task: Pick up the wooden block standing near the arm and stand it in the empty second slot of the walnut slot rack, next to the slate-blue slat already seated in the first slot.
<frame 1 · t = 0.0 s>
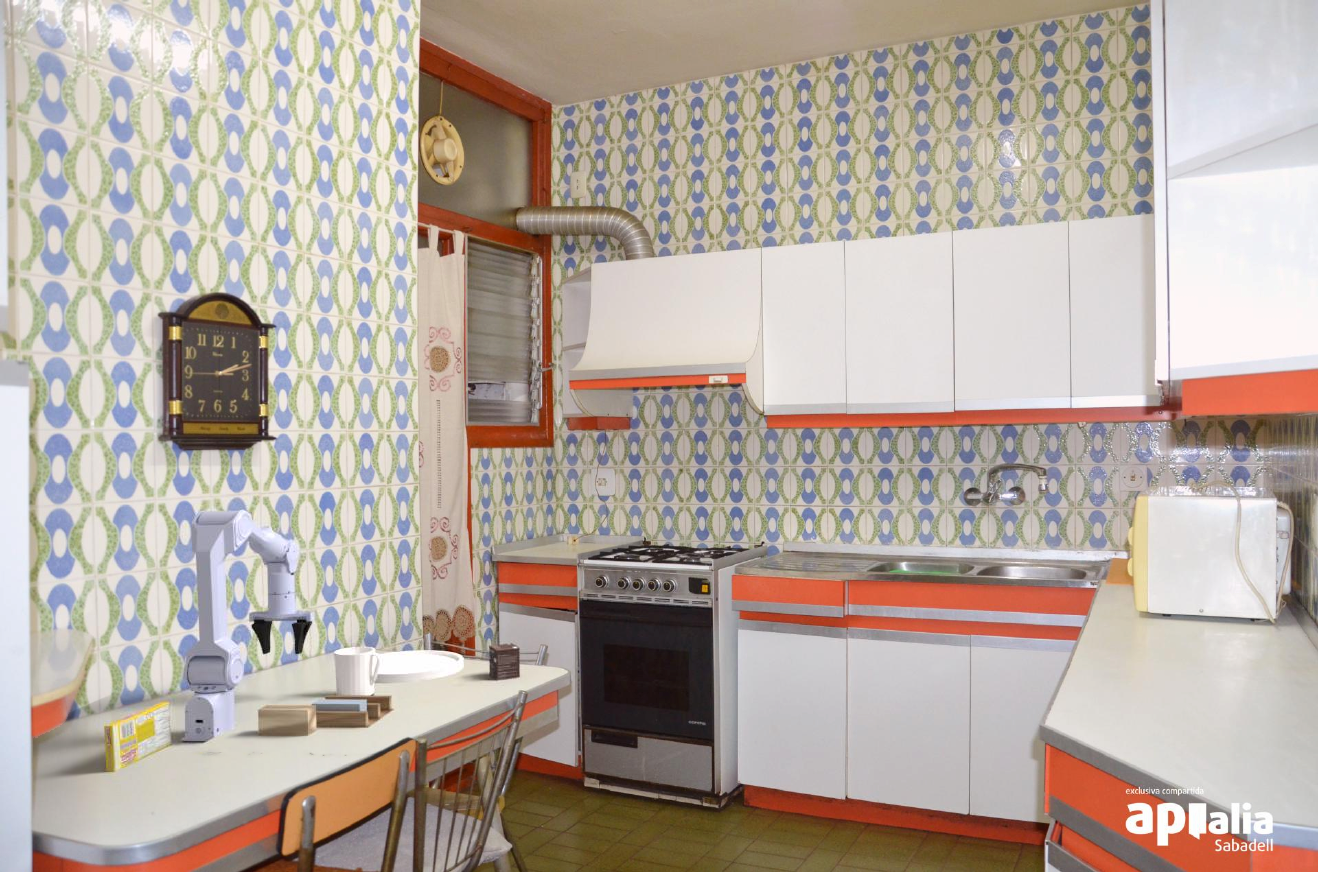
hand: (282, 653, 228), 10 cm above the counter, fingers open, 7 cm apart
mug: (359, 697, 228), on the counter
blue slat: (339, 721, 203), point 1 cm above the counter, touching rack
wooden block: (287, 738, 196), on the counter
plate: (407, 672, 255), on the counter
rack: (346, 722, 207), on the counter
candy box: (139, 758, 186), on the counter
box: (504, 677, 245), on the counter
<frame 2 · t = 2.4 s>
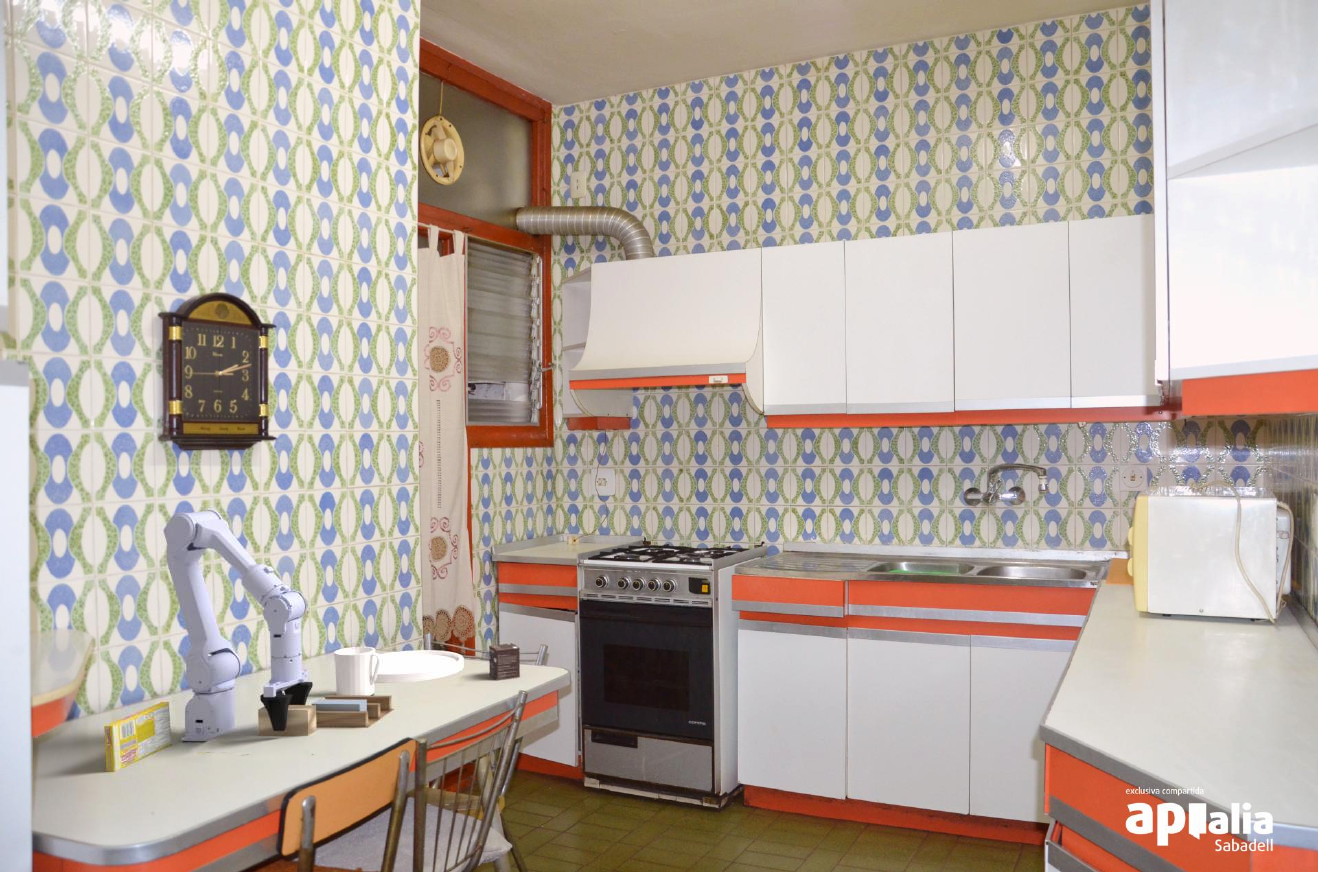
hand: (288, 725, 196), 2 cm above the counter, fingers open, 6 cm apart
nothing on the counter moved.
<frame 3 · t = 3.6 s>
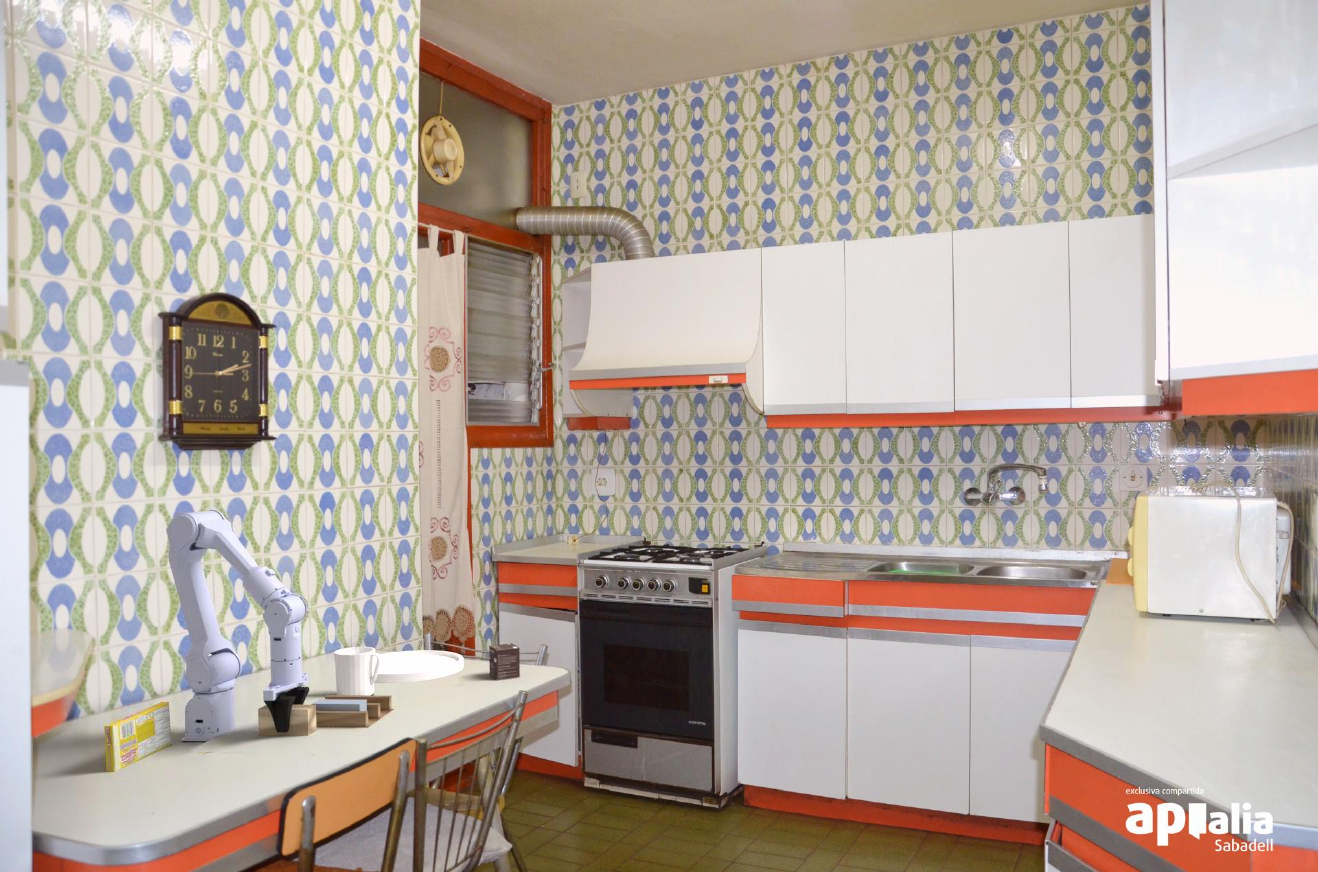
hand: (287, 728, 196), 2 cm above the counter, fingers closed on wooden block, 3 cm apart
wooden block: (287, 737, 196), on the counter, touching gripper
everything else where it was.
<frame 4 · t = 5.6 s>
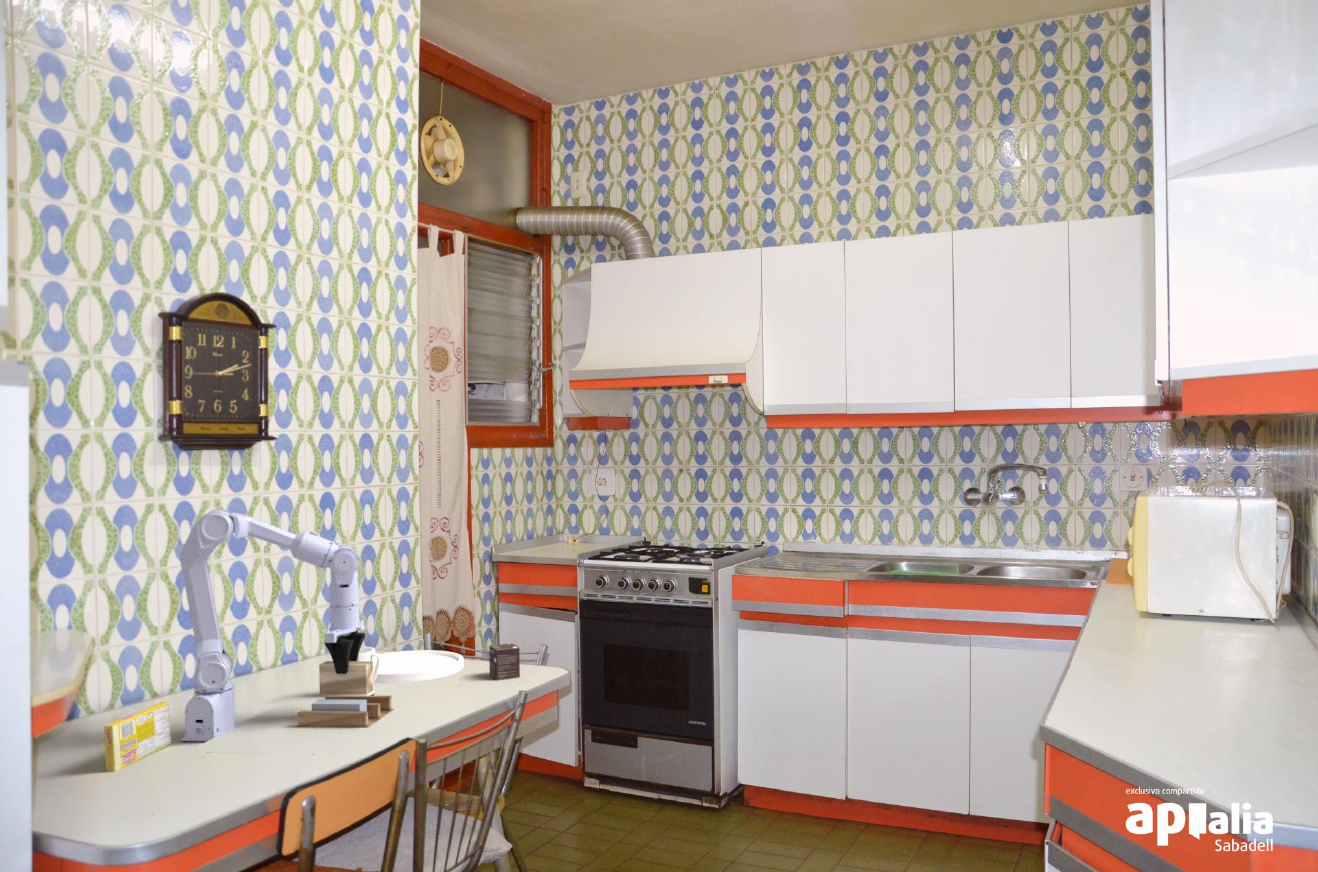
hand: (346, 671, 208), 10 cm above the counter, fingers closed on wooden block, 3 cm apart
wooden block: (346, 692, 208), point 6 cm above the counter, touching gripper
everything else where it was.
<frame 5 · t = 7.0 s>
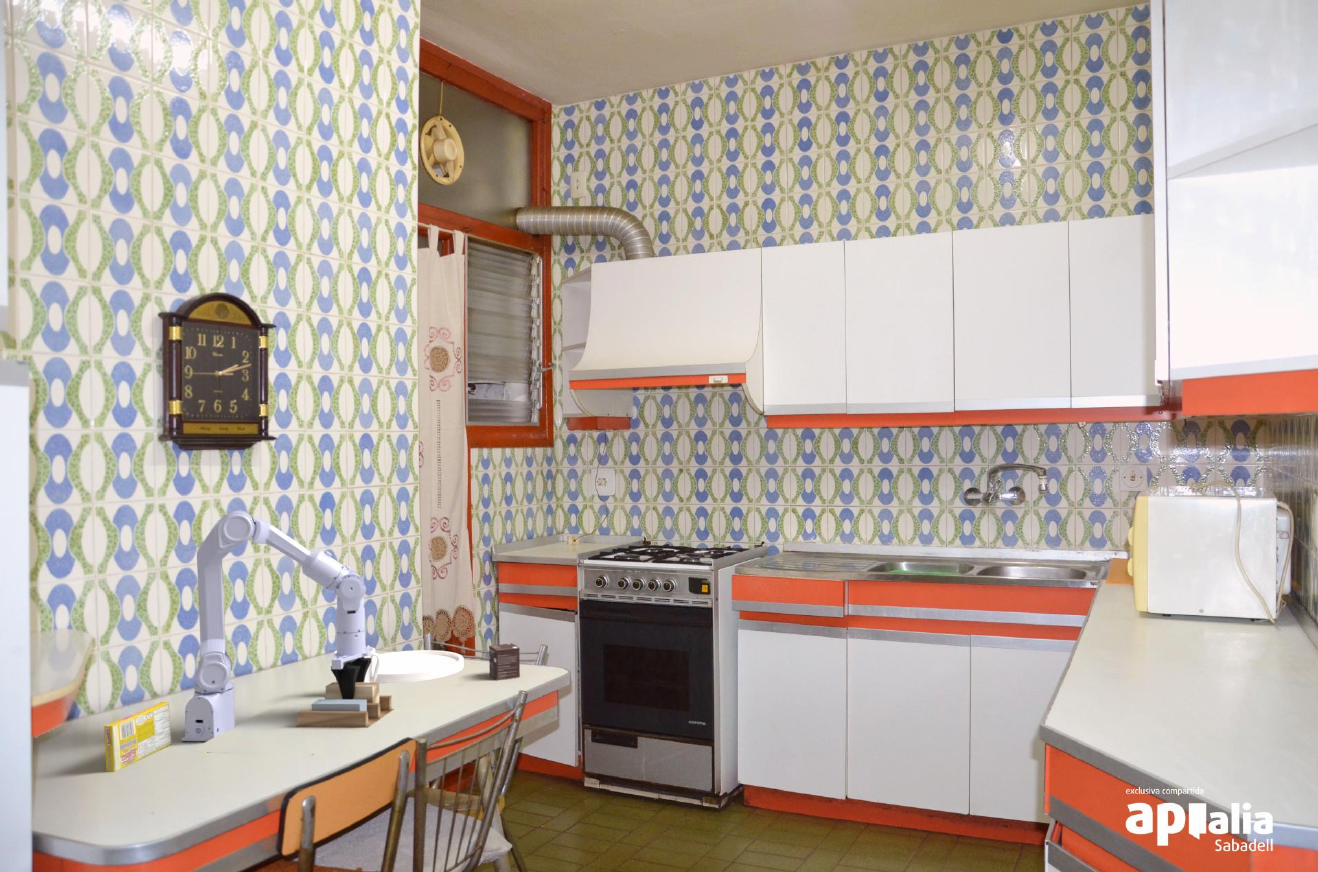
hand: (352, 696, 210), 4 cm above the counter, fingers closed on wooden block, 3 cm apart
wooden block: (353, 713, 210), point 1 cm above the counter, touching gripper, rack
everything else where it was.
when the fingers open (4 cm above the counter, at t = 7.6 s): wooden block stays where it is, resting on rack.
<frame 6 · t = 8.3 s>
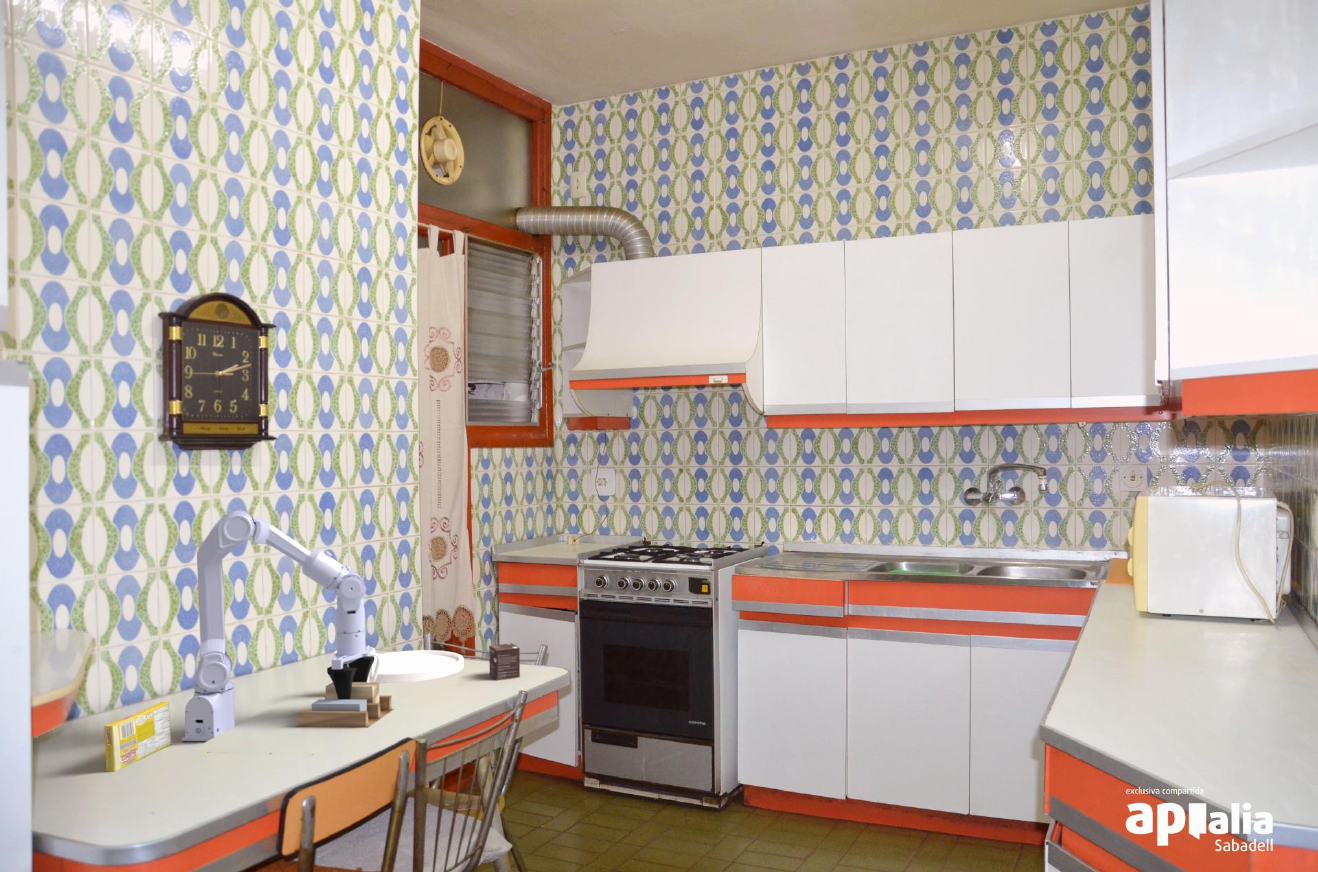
hand: (352, 696, 210), 4 cm above the counter, fingers open, 7 cm apart
wooden block: (353, 713, 210), point 1 cm above the counter, touching rack
everything else where it was.
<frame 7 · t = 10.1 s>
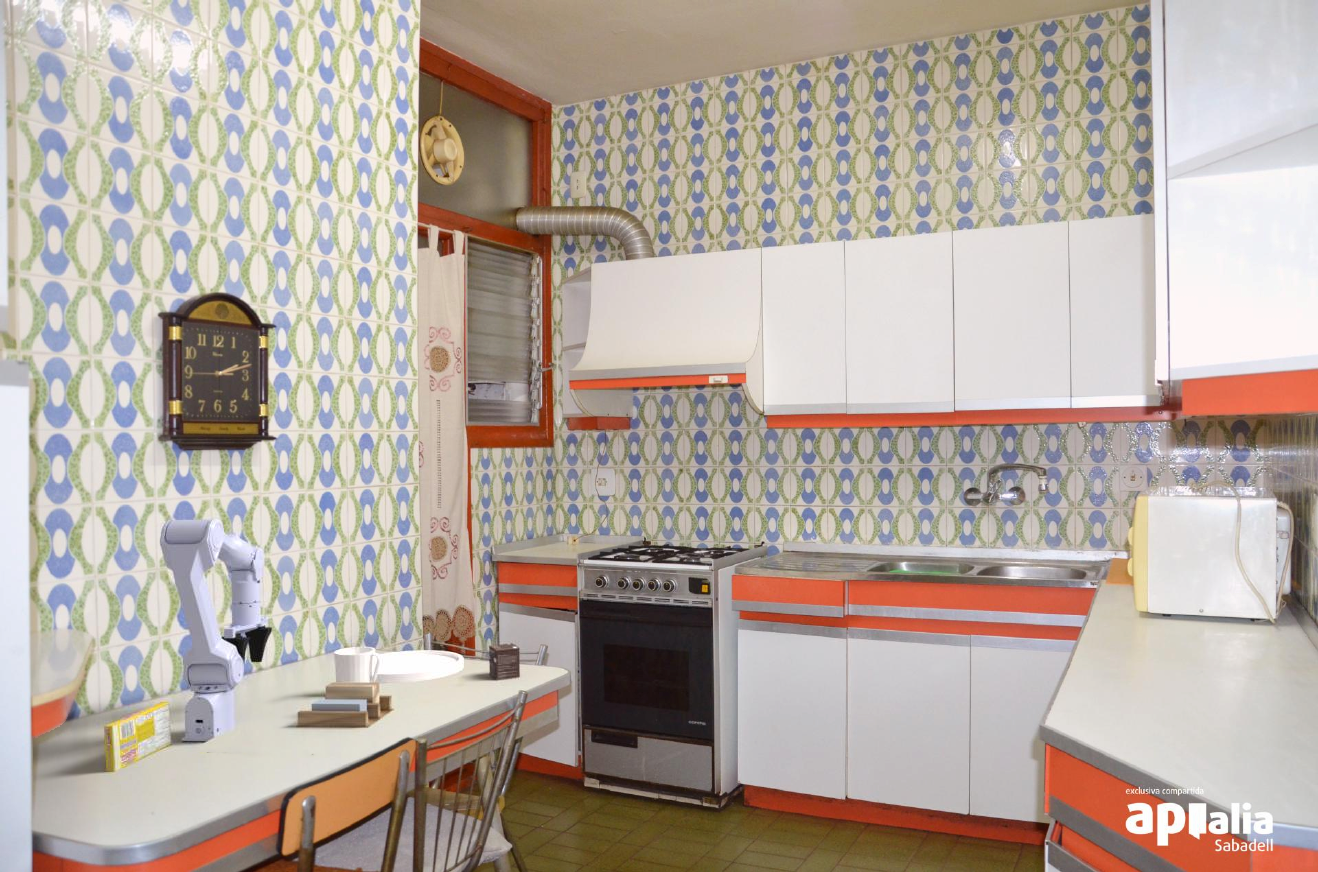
hand: (247, 665, 216), 10 cm above the counter, fingers open, 7 cm apart
nothing on the counter moved.
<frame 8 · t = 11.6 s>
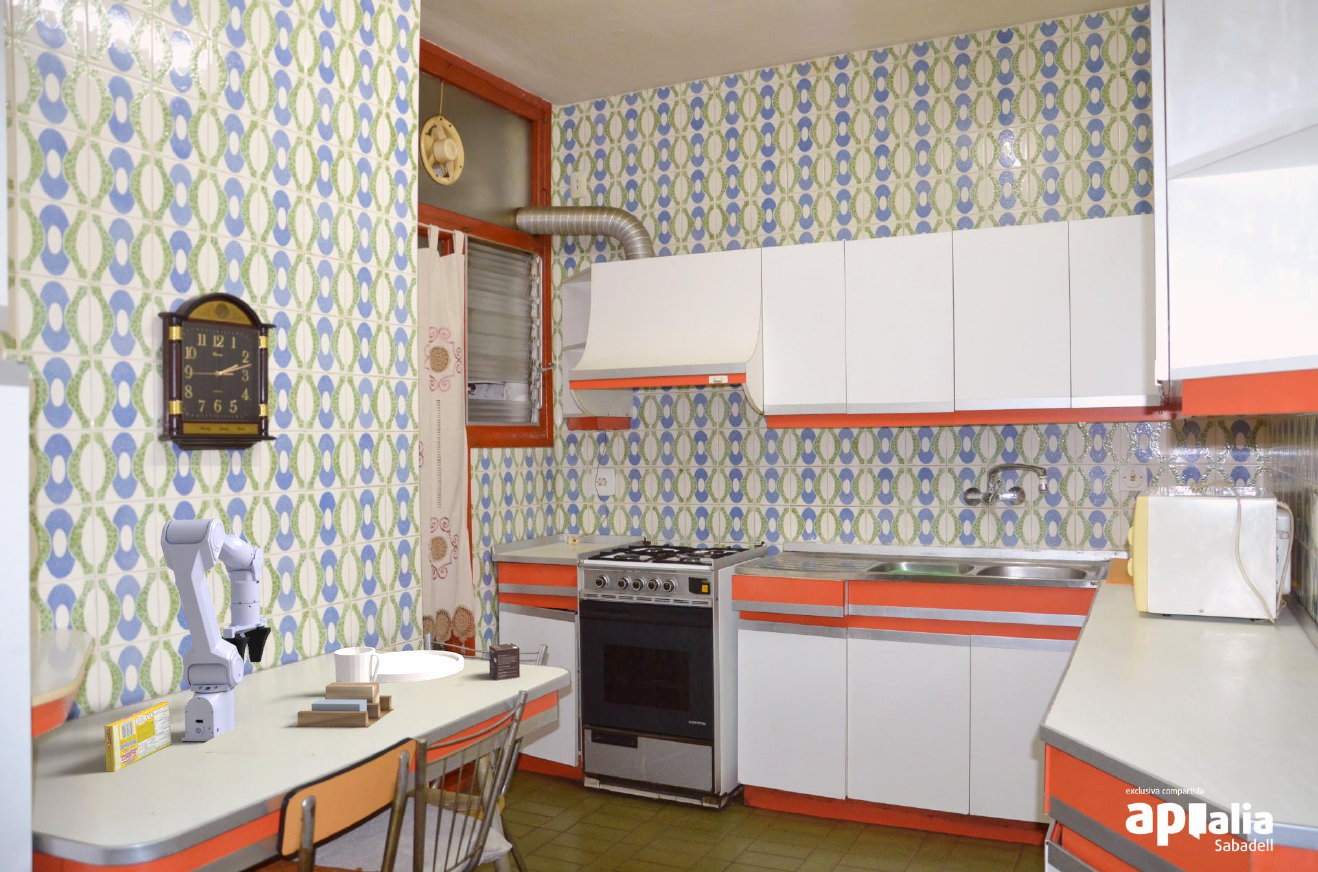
hand: (246, 665, 216), 10 cm above the counter, fingers open, 7 cm apart
nothing on the counter moved.
at the end: wooden block inside the target area on the rack (0.1 cm from its centre), point 1.0 cm above the rack's base; wooden block tilted 0°; the gripper is holding nothing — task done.
